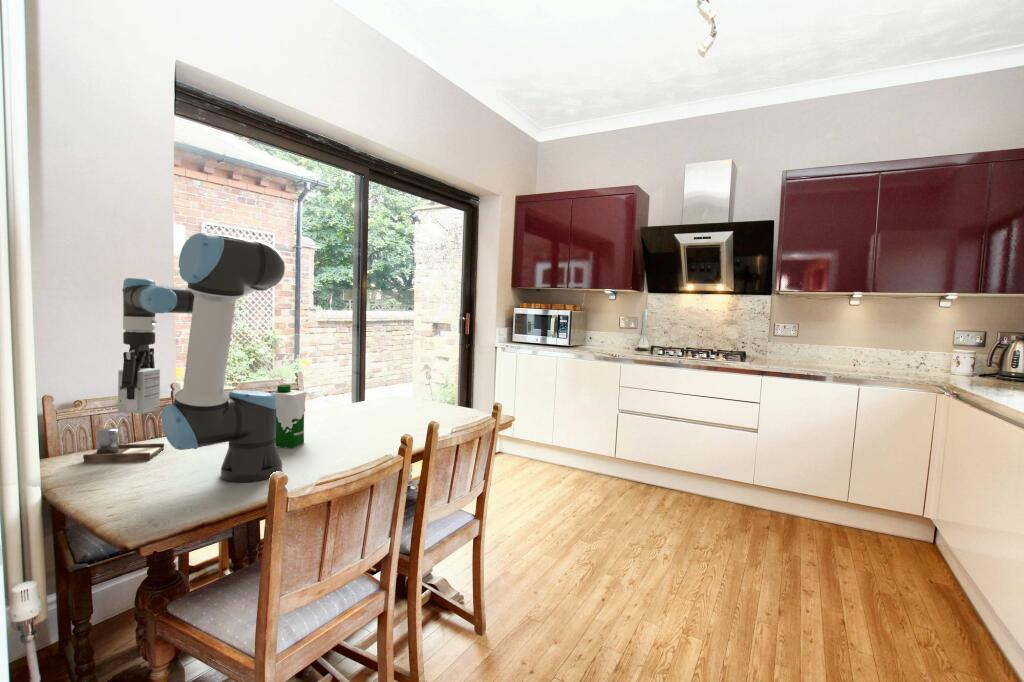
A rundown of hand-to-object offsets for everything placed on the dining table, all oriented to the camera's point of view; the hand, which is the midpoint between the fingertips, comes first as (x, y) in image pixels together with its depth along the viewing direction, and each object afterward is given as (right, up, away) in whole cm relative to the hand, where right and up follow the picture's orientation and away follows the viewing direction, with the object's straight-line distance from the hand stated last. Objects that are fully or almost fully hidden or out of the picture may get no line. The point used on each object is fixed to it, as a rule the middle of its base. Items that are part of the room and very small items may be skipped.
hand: (139, 406), depth 144 cm
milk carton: (+36, -16, +20) cm, 44 cm away
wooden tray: (-4, -15, 0) cm, 15 cm away
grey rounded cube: (-8, -14, -1) cm, 16 cm away
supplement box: (0, -2, 0) cm, 1 cm away
